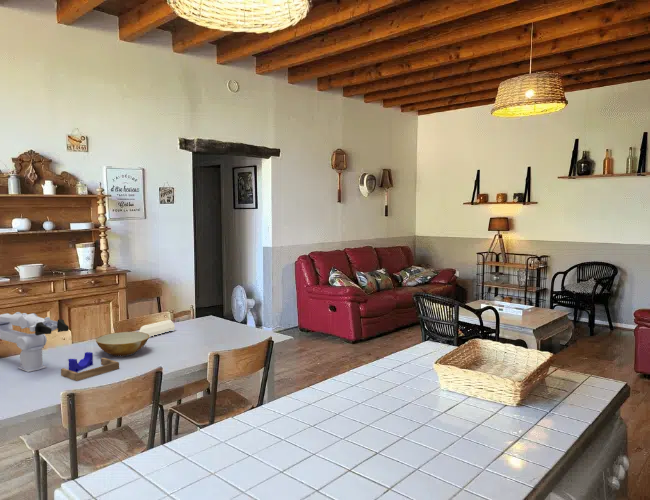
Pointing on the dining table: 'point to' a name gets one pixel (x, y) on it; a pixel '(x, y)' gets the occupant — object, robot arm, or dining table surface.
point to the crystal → (157, 328)
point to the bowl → (122, 342)
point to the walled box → (91, 370)
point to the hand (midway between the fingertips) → (59, 330)
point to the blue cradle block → (81, 362)
